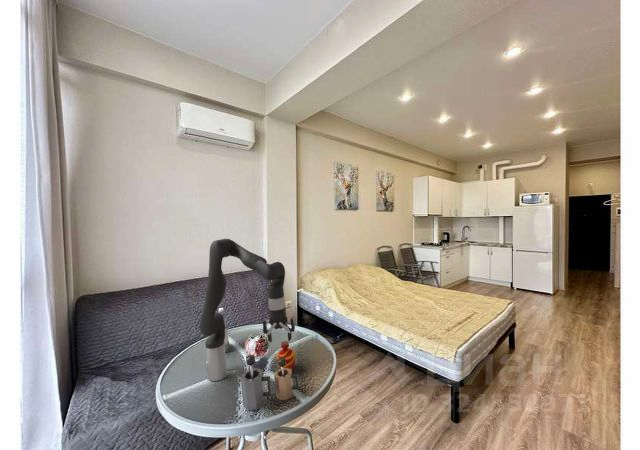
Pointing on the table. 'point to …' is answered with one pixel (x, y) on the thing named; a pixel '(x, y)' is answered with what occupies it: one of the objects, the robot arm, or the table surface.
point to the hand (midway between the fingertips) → (280, 340)
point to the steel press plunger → (250, 363)
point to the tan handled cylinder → (285, 384)
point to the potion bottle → (286, 355)
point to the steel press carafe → (254, 389)
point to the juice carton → (226, 340)
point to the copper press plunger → (282, 364)
